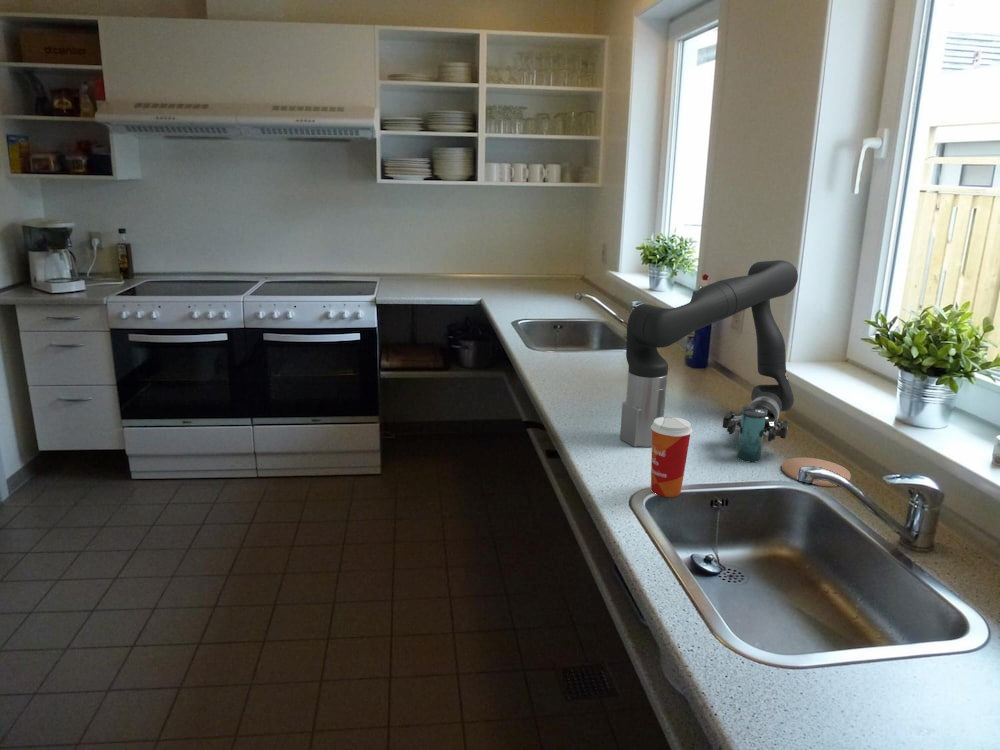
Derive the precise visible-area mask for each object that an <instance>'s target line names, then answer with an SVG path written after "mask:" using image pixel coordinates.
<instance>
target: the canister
mask: <svg viewBox="0 0 1000 750" xmlns="http://www.w3.org/2000/svg"><path fill="white" fill-rule="evenodd" d="M767 411H768V410H767V409H766V408H764V407H761V406H756V405H750V404H745V405H742V406H741V411H740V413H741V415H742V417H741V425H740V431H739V434H738V435H739V436H738V443H737V451H736V458H737V459H738V458H739V460H740V461H742V460H743V462H746V461H750V462H749V463H756V462H755V461H758V462H760V461H761V455H762V450H763V449H762V447H763V441H764V435H765V434H764V426H765V419H766V416H767ZM759 460H760V461H759Z"/></svg>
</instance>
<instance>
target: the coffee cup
mask: <svg viewBox="0 0 1000 750" xmlns="http://www.w3.org/2000/svg"><path fill="white" fill-rule="evenodd" d="M651 429H652V447H651V459H650V460H651V461H650V462H651V465H650V467H651V468H650V490H652V491H653V492H654V493H656V494H657V496H659V497H663V498H675V497H679V496H680V495H681V492H682V486H683V481H684V477H685V476H684V475H685V469H686V465H687V464H686V463H687V457H688V451H689V445H690V439H691V434H692V433H693V428H692V424H691V423H690V422H689V421H688V420H687V419H684V418H680V417H674V418H673V417H668V416H666V417H664V418H663V417H659V418H656V419H655V420H654V422H653V424H652V425H651ZM652 491H651V492H652ZM653 492H652V493H653ZM654 493H653V494H654ZM656 494H655V495H656Z"/></svg>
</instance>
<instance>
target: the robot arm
mask: <svg viewBox="0 0 1000 750" xmlns="http://www.w3.org/2000/svg"><path fill="white" fill-rule="evenodd" d="M798 273H799V272H798V270H797V267H795V266H794V264H793V263H791V262H789V261H787V260H782V259H781V260H780V259H778V260H766V261H757V262H755V263H753V264H752V265H751V266H750V267H749V270H748V272H747V275H742V276H741V275H740V276H736V277H729V278H726V279H725V278H724V279H722V280H721V279H720V280H717V281H715V282H712V283H710V284H707V285H705V286H702V287H700V288H699V289H698V290H697V291H696V292H694V294H693V295H692V297H691V300H690V301H689V302H687V303H686V304H683V305H680V306H676V307H672V308H666V307H661V306H657V305H652V304H647V303H646V304H645V303H642V304H639V305H637V306H635V307H634V308H633V309H632V311H631V312H630V314H629V317H628V320H627V325H626V341H625V342H626V343H625V345H626V346H625V347H626V349H625V351H626V353H625V356H626V361H627V364H628V373H627V387H626V397H625V401H622V406H621V420H620V431H619V433H620V435H619V439H620V440H621V441H624V442H625V443H627V444H628V445H630V446H633V447H634V448H636V447H642V448H643V447H644V448H645V447H646V448H650V447H651V448H652V429H651V425H652V424H653V422H654V420H655V419H656V418H659V417H663V418H665V417H664V416H665V408H666V397H667V384H668V376H669V375H668V373H669V372H668V371H669V363H668V362H667V360H666V359H665V358H664V357H663V356H662V355H661V354H660V352H659V351H658V349H659V348H661V349H662V348H667V347H670V346H672V345H674V344H675V343H677V342H679V341H680V340H681V339H683V338H685V337H687V336H689V335H691V334H692V333H694V332H696V331H698V330H701V329H703V328H705V327H708V326H710V325H713V324H715V323H717V322H720V321H723V320H725V319H727V318H730V317H732V316H734V315H736V314H738V313H740V312H743V311H744V310H747V309H749V308H751V313H752V318H753V323H754V327H755V328H754V329H755V335H756V347H757V348H756V351H757V353H756V355H757V356H756V357H757V359H756V361H757V362H756V363H757V372H758V374H759V375H761V376H764V377H766V378H767V377H768V378H772V379H774V380H775V381H776V382H777V384H757V385H756V386H754V387H753V389H752V391H751V393H750V395H751V397H750V398H751V402H750V403H749V405H756V406H761V407H764V408H766V409H767V410H768V411H767V416H766V419H765V426H764V434H763V435H765V436H767V442H772V441H774V440H776V438H778V437H779V438H780V439H786V438H787V434H788V428H789V421H788V420H782V421H781V422H780V423H779V422H778V421H779V418H780V414H781V412H787V411H789V410H791V408H792V407H793V406H794V401H795V399H794V393H793V390H792V388H791V387H792V386H791V384H790V381H789V379H788V380H787V379H786V376H785V373H786V372H787V363H786V362H787V361H786V350H787V349H786V343H785V338H784V336H783V334H782V332H781V330H780V328H779V326H778V324H777V322H776V320H775V318H774V316H773V313H772V309H771V300H772V299H776V298H779V297H783V296H786V295H788V294H789V293H791V292H792V291H793V290H794V289H795V287H796V285H797V284H798V283H797V282H798V280H799V274H798ZM741 417H742V414H740V415H735V412H734V411H729V412H727V413H726V414H725V415H724V416H723V418H722V419H723V420H722V428H724V429H726V432H727V433H728V434H729V435H733V434H734V433H735V431H736V430H737V431H739V432H740V425H741Z"/></svg>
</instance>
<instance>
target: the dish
mask: <svg viewBox="0 0 1000 750" xmlns="http://www.w3.org/2000/svg"><path fill="white" fill-rule="evenodd" d="M802 466H815V467H822V468H825V469H828V470H831V471H833V472H835V473H838V474H840V475H841V476H843V477H845V478H847V479H848V480H851V477H852V474H851V472H850V471H849V470H848V469H847V468H845V467H844V466H842V465H840V464H838V463H836V462H832V461H829V460H825V459H821V458H815V457H814V458H813V457H802V456H801V457H792V458H791V457H790V458H788V459H785V460H784V461H783V462H782V465H781V470H782V473H784V474H785V475H786V476H787V475H788V477H789V478H791V479H793V480H795V481H797V476H798V470H799V468H800V467H802ZM814 483H815V484H817V485H818V487H833V488H834V487H838V486H837V485H835V484H832V483H830V482H828V481H822V480H819V481H814ZM817 485H816V486H817Z"/></svg>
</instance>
